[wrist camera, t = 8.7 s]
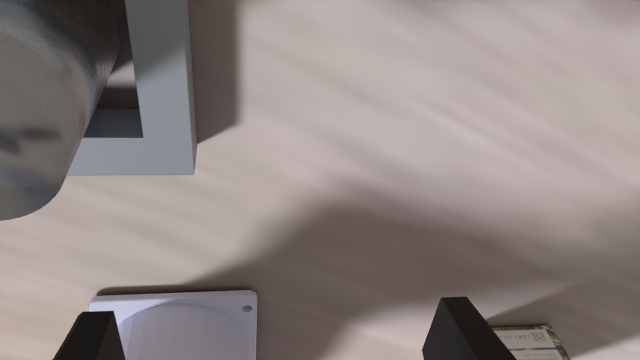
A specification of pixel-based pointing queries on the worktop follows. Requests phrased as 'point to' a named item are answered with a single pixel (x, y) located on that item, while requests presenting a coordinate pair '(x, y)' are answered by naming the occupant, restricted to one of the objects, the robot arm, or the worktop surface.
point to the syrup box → (532, 342)
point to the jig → (148, 102)
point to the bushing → (48, 92)
